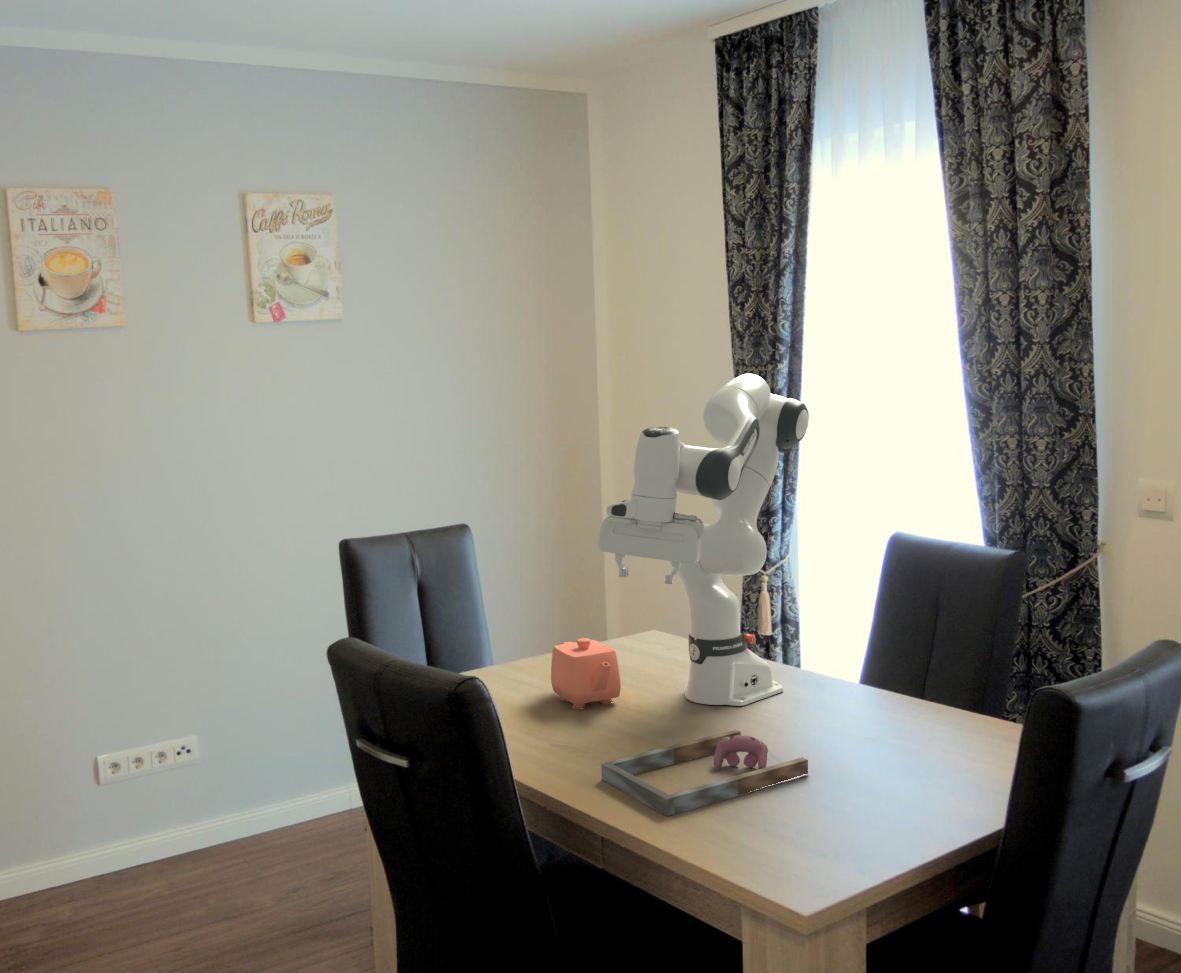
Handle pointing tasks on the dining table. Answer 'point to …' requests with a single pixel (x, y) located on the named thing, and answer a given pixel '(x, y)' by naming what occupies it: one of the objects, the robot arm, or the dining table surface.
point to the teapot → (585, 672)
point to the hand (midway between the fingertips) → (646, 580)
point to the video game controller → (741, 744)
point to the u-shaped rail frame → (670, 804)
